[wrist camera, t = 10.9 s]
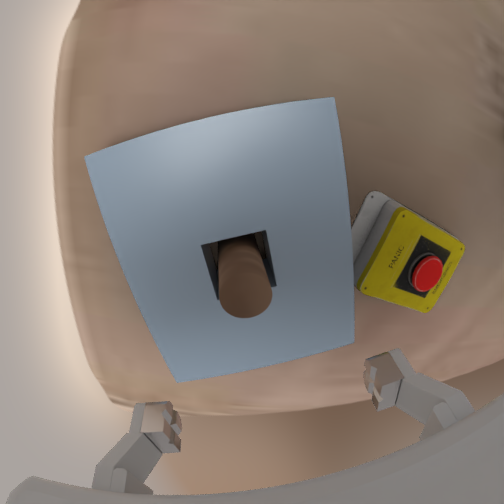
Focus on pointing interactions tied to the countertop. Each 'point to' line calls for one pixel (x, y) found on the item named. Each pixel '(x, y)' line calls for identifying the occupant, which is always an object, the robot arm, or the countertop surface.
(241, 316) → the peg
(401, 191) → the countertop surface
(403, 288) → the emergency button
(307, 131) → the socket block
